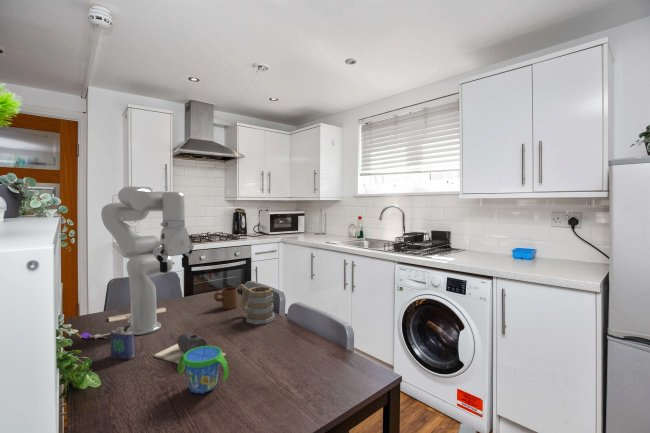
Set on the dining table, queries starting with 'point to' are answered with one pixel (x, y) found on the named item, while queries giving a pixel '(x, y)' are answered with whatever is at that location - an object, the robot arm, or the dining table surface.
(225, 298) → the mug
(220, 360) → the snack cup
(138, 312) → the robot arm
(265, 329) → the dining table surface
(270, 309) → the tankard
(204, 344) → the perforated stone tool
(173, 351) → the birch board
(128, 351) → the flask
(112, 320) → the newspaper
